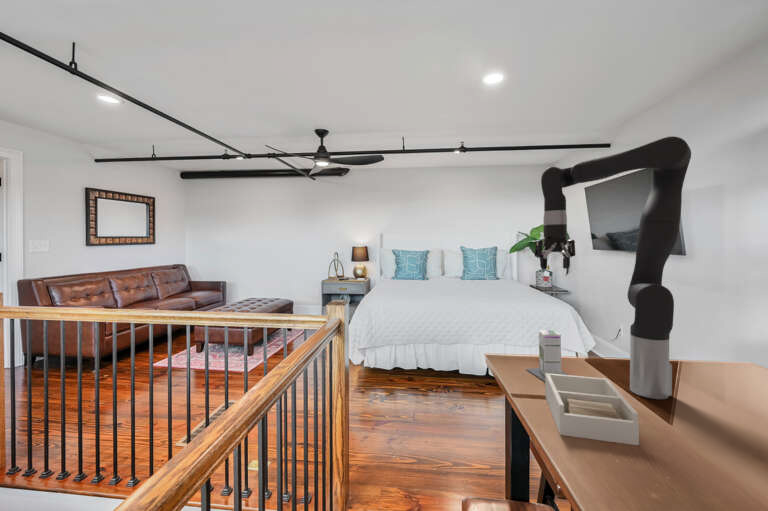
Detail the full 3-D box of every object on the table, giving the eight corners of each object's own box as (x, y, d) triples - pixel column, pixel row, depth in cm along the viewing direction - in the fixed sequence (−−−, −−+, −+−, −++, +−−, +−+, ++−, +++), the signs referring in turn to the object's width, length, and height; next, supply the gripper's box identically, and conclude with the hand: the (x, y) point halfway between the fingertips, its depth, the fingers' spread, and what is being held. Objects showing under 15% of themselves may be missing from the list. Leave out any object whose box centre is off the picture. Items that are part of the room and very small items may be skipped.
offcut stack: (563, 421, 87) (563, 398, 86) (617, 427, 83) (617, 403, 83) (567, 432, 82) (567, 407, 81) (625, 439, 78) (625, 414, 78)
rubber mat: (554, 368, 123) (554, 366, 123) (575, 380, 112) (575, 378, 112) (526, 370, 122) (526, 368, 122) (545, 382, 111) (545, 381, 111)
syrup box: (562, 377, 113) (562, 334, 113) (543, 376, 114) (543, 334, 114) (556, 371, 119) (556, 330, 119) (538, 370, 120) (538, 329, 120)
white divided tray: (545, 396, 101) (545, 373, 100) (607, 402, 96) (607, 378, 96) (559, 434, 81) (559, 405, 80) (638, 445, 76) (639, 414, 76)
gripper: (566, 224, 127) (566, 267, 127) (530, 224, 125) (530, 268, 125) (580, 223, 119) (580, 269, 120) (543, 223, 117) (543, 270, 118)
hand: (555, 268), depth 122 cm, fingers open, 8 cm apart
